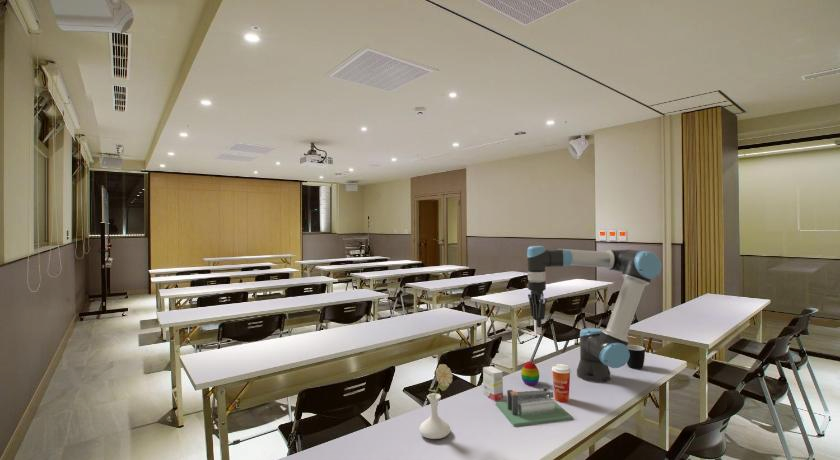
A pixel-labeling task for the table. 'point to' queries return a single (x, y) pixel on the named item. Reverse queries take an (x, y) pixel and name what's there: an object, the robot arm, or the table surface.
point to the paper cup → (561, 382)
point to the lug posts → (512, 402)
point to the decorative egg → (530, 374)
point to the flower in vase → (434, 424)
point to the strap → (530, 393)
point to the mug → (636, 356)
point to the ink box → (493, 383)
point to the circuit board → (519, 421)
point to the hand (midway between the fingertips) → (537, 333)
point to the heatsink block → (536, 405)
